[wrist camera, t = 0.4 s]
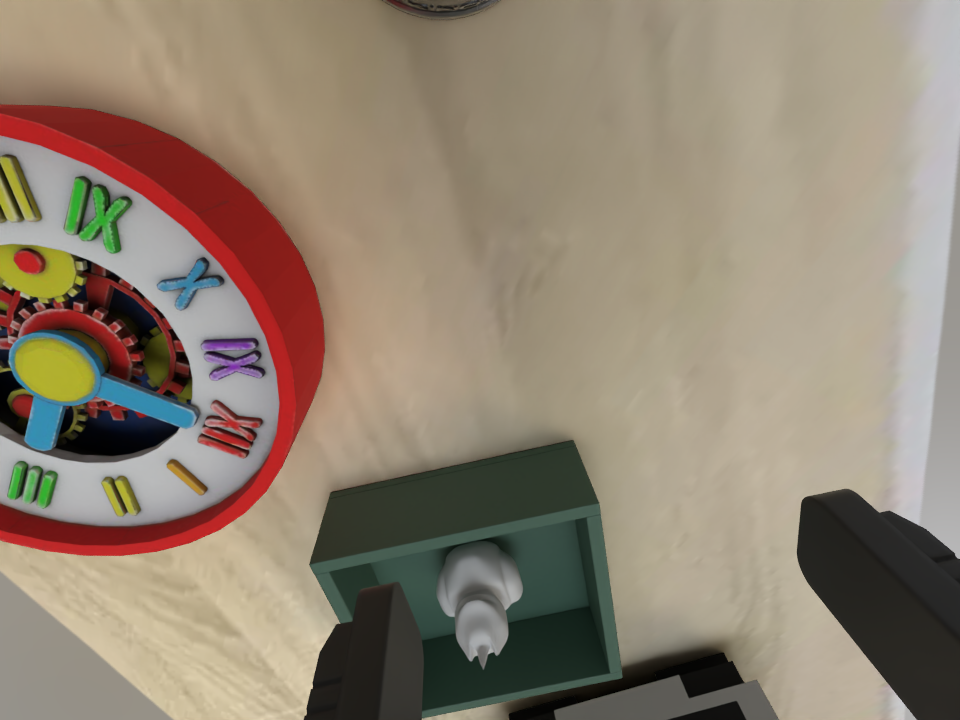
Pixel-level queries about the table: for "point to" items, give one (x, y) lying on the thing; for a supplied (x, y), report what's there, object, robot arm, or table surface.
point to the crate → (516, 531)
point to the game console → (670, 698)
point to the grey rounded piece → (479, 596)
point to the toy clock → (140, 337)
